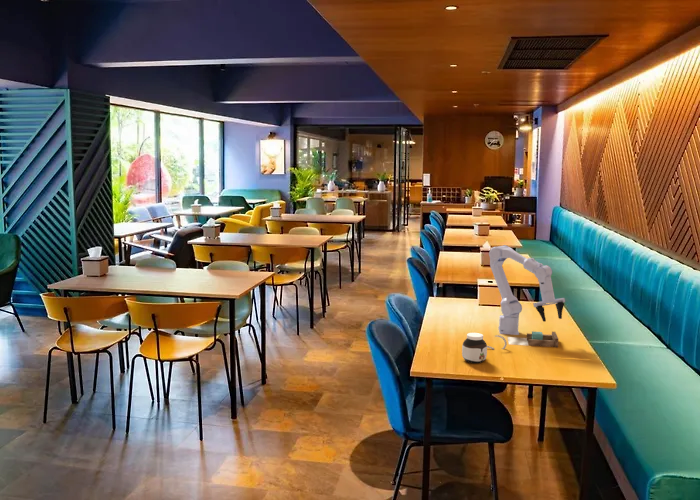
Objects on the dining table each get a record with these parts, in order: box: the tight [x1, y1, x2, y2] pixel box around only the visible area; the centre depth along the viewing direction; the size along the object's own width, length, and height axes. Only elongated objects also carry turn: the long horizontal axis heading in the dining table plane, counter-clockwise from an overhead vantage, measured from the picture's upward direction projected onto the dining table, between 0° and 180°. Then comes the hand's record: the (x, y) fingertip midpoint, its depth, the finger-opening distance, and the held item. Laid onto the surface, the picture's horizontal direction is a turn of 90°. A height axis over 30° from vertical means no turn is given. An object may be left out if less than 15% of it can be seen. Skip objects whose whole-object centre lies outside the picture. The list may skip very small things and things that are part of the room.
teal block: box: [531, 330, 544, 340], centre depth 293 cm, size 4×4×4 cm
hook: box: [487, 334, 508, 351], centre depth 285 cm, size 7×9×20 cm
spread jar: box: [461, 332, 488, 364], centre depth 269 cm, size 12×11×12 cm
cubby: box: [507, 331, 559, 348], centre depth 293 cm, size 22×12×5 cm, turn 79°
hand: (552, 320), depth 292 cm, fingers open, 7 cm apart
